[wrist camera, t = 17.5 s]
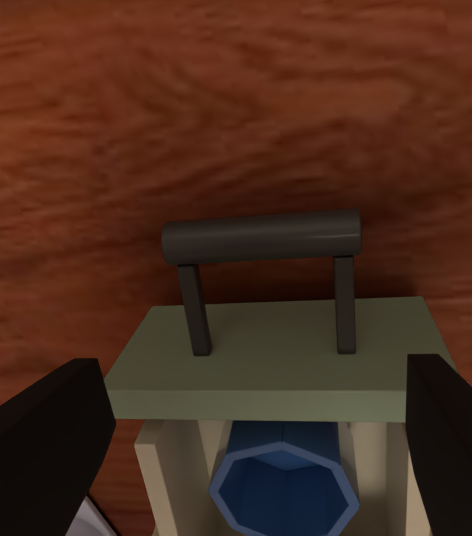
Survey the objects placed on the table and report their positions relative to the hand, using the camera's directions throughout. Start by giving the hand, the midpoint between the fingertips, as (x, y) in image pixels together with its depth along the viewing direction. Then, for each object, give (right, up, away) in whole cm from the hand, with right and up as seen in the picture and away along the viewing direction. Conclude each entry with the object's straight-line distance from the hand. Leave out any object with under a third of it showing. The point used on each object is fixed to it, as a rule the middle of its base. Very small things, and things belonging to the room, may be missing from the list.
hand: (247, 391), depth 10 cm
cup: (+2, -4, +10) cm, 11 cm away
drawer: (+2, -2, +10) cm, 11 cm away
